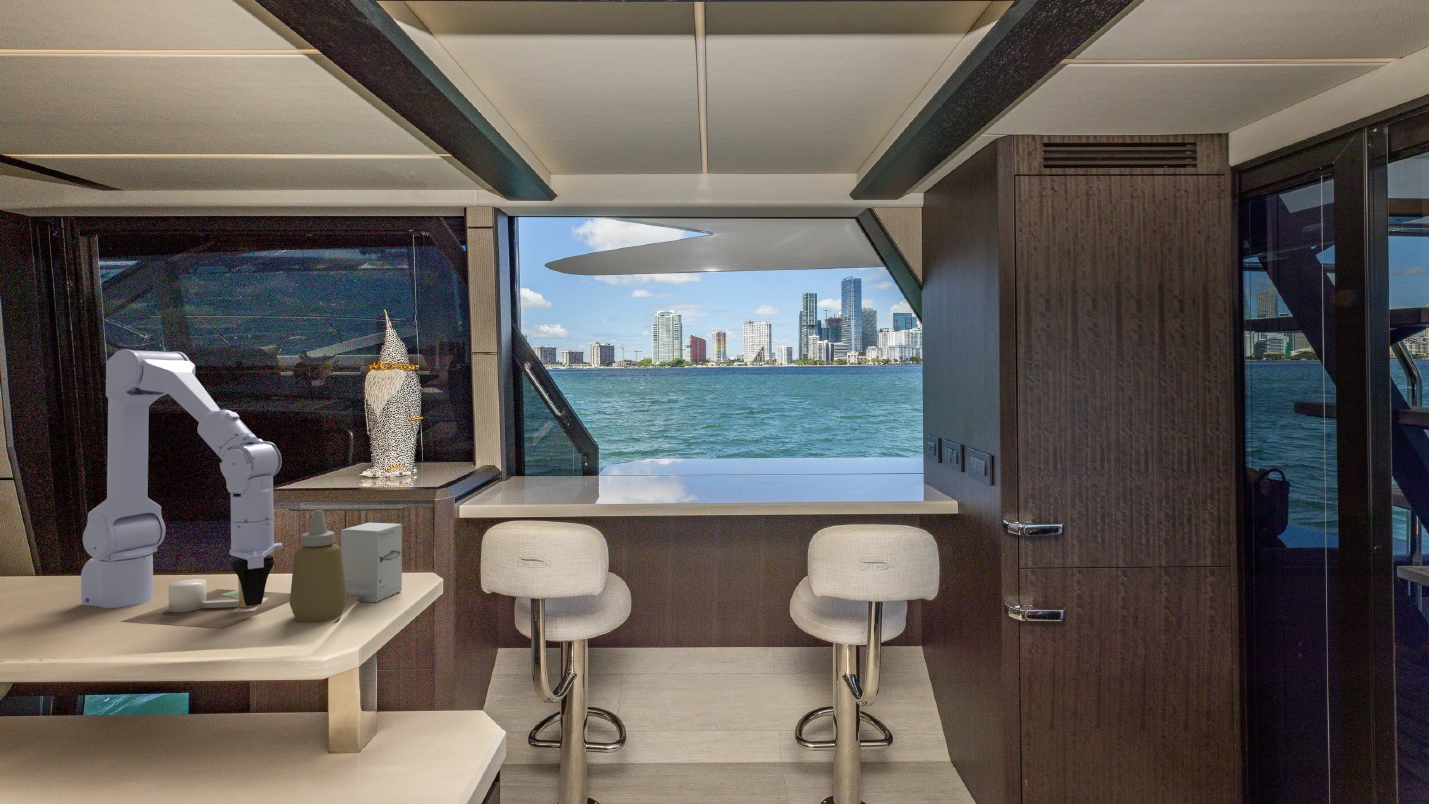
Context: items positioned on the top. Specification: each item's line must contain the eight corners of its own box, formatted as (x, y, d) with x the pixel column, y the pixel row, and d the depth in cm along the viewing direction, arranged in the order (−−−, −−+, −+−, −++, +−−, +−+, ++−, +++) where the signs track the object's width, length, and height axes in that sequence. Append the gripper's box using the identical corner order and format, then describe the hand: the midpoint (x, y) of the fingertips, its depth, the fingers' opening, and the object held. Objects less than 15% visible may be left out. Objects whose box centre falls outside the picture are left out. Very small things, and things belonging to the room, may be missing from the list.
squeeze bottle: (358, 618, 118) (358, 508, 118) (317, 634, 111) (316, 516, 110) (320, 613, 121) (319, 505, 121) (277, 628, 113) (276, 513, 113)
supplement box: (377, 603, 127) (376, 531, 126) (339, 600, 128) (339, 529, 128) (403, 591, 134) (403, 523, 133) (367, 589, 135) (367, 521, 135)
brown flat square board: (120, 629, 113) (120, 620, 113) (218, 595, 131) (218, 588, 130) (222, 636, 110) (222, 627, 110) (308, 601, 128) (308, 593, 128)
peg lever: (162, 613, 116) (161, 581, 116) (179, 603, 121) (178, 573, 121) (251, 609, 118) (251, 578, 118) (264, 599, 123) (264, 570, 123)
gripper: (286, 523, 112) (287, 611, 112) (277, 510, 124) (278, 589, 124) (231, 528, 108) (232, 620, 108) (227, 514, 120) (228, 596, 120)
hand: (253, 604), depth 116 cm, fingers closed
